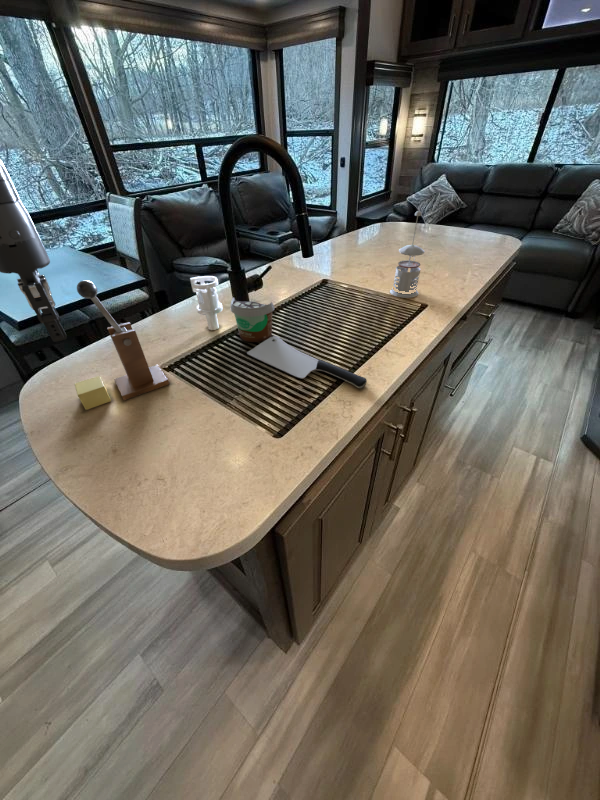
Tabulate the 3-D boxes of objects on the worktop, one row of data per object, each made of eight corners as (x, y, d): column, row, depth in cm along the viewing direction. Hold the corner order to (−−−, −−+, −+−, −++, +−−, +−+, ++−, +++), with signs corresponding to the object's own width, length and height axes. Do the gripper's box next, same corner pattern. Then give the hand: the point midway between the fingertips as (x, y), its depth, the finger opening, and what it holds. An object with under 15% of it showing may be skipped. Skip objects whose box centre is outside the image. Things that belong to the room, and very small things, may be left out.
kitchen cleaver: (245, 350, 85) (272, 332, 90) (247, 356, 86) (273, 337, 91) (345, 400, 69) (371, 374, 73) (345, 405, 70) (371, 380, 75)
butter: (111, 401, 71) (104, 386, 69) (85, 410, 69) (77, 395, 67) (106, 389, 75) (99, 375, 72) (82, 398, 72) (74, 383, 70)
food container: (226, 340, 91) (220, 305, 85) (237, 330, 96) (232, 296, 89) (267, 347, 88) (264, 311, 82) (276, 336, 92) (274, 302, 86)
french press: (387, 295, 113) (399, 213, 98) (393, 284, 122) (405, 206, 106) (416, 299, 110) (434, 214, 95) (421, 287, 119) (437, 207, 103)
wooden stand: (123, 400, 71) (98, 344, 63) (115, 383, 76) (90, 328, 68) (169, 384, 76) (151, 329, 67) (159, 368, 81) (140, 315, 72)
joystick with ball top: (73, 288, 58) (91, 279, 59) (71, 283, 60) (87, 275, 61) (122, 349, 68) (137, 341, 69) (119, 343, 70) (133, 335, 71)
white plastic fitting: (198, 325, 99) (187, 274, 89) (221, 320, 101) (212, 270, 92) (205, 335, 94) (193, 282, 84) (228, 329, 96) (220, 277, 87)
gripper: (-20, 231, 54) (31, 322, 64) (-23, 249, 45) (37, 352, 55) (34, 225, 58) (74, 313, 68) (41, 241, 49) (86, 340, 59)
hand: (57, 330), depth 61 cm, fingers open, 8 cm apart
